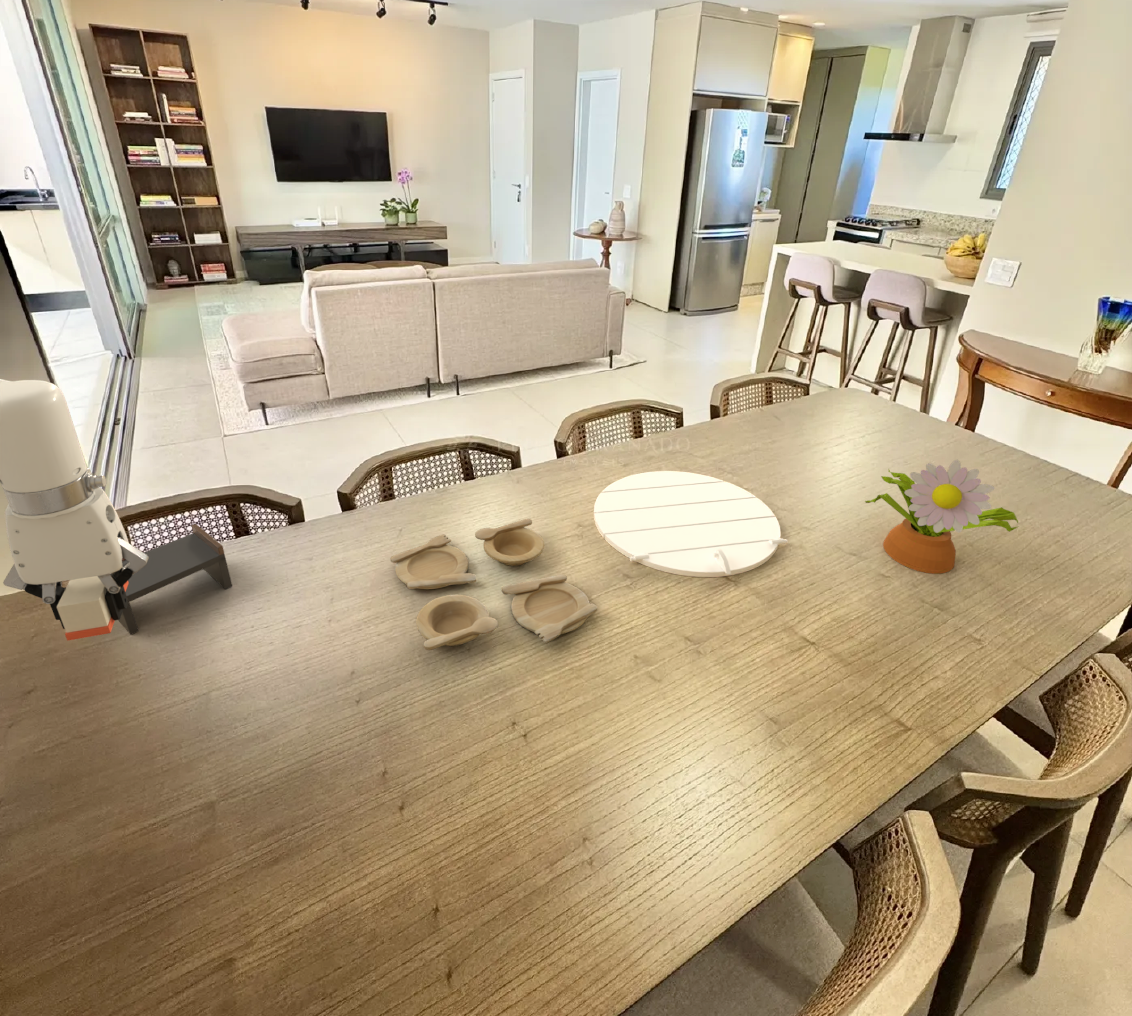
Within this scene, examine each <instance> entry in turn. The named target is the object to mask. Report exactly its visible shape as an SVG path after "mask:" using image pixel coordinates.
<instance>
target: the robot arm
mask: <svg viewBox="0 0 1132 1016" xmlns="http://www.w3.org/2000/svg"><path fill="white" fill-rule="evenodd" d="M0 485H1V489H2V490H3V493H4V495H5V498H6V500H7V503H8V504H7V505H6V507H5V510H4V519H5V520H4V521H5V528H6V537H7V541H8V542H7V543H8V546H9V551H10V554H11V558H12V560H13V564H12V566H11V568H10V570H9V571H8V573H7V575H6V577H5V578H4V579H3V582H2V583H3V586H6V587H9V588H11V589H12V588H13V589H15V590H20V591H22V590H23V591H24V592H25V593H27V594H28V595H29V594H30V595H32V596H35V597H37V598H40V599H42V602H43V603H44V604H46V605H49V606H50V609H51V612H52V614H53V616H54V619H55V620H56V621H59V622H60V625H61V627H62V630H65V628H64V625H63V623H62V620H61V617H60V615H59V612H58V609H57V605H58V603H59V601H60V599H61V597H62V595H63V593H64V591H65V589H66V587H67V586H66V587H63V582H67V581H70V580H74V579H80V578H87V577H94V576H98V578H99V579H100V580H101V582H102V583H103V585H104V586H105V587H106V589H107V592H106V595H105V599H106V602H107V605H108V608H109V611H110V614H111V617H112V619H113V620H115V621H119V620H120V618H121V615H122V612H123V609H126V608H127V606H128V599H127V596H126V593H125V589H124V586H123V585H124V584H125V583H126V582H127V581H128V580H129V579H130V578H131V577H132V575H133V574H134V573H136V572H138V571H139V570H140V569H141V568H143V567H144V566H145V565H146V564H147V561H148V558H149V557H148V556H147V555H146V554H145V552H143V551H142V550H140V549H139V548H138V547H135V546H134V545H133V544H131V543H130V542H129V539H128V536H127V533H126V530H125V528H124V525H123V523H122V521H121V519H120V516H119V514H118V512H117V510H116V509H115V507H114V505H113V503H112V501H111V499H110V498H109V496H108V495H107V493H106V491H105V490H104V489H103V488H104V487H106V486H107V478H106V476H105V475H104V474H103V475H97V474H93V473H92V472H91V469H90V467H88V466H87V463H86V460H85V456H84V452H83V450H82V446H81V444H80V440H79V438H78V435H77V431H76V428H75V425H74V422H73V419H72V416H71V412H70V409H69V405H68V403H67V400H66V397H65V395H64V393H63V391H62V390H61V388H60V387H58V386H57V385H56V384H55V383H52V382H50V381H46V380H40V379H21V380H13V381H12V380H7V379H2V378H0ZM123 559H124V560H128V561H129V563H127V564H125V565H124V566H123V567H122V562H123Z"/></svg>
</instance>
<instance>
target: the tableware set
mask: <svg viewBox="0 0 1132 1016" xmlns="http://www.w3.org/2000/svg"><path fill="white" fill-rule="evenodd" d="M532 524H533V520H532V519H531V518H524V519H521V520H518V521H515V522H512V523H508V524H504V525H503V526H500V527H495V528H494V527H483V528H480V529H478V530H476V531H475V533H474V537H475V539H477V540H481V541H483V550H484V552H485V554H486V555H487V557H489V558H490V559H493V560H494V561H495V562H499V563H501V564H503V565H506V566H510V567H516V566H517V567H518V566H522V565H524V564H526V563H527V562H530V561H533V560H535V559H537V558H538V557H540V555H541V554H542V553H543V551H544V548H545V541H544V539H543V537H542V536H541V535H540V534H539V533H538V532H537V531H535V530H533V529H530V528H527V527H529V526H531V525H532ZM451 542H452V539H450V538H449V537H448V536H446V534H444V533H442V534H440V535H437V536H434V537H432V538H430V540H429V541H428V542H427V543H425V544H423V545H419V546H417V547H414V548H412V549H411V548H410V549H408V550H405V551H402V552H398V553H396V554H394V555H391V557H389V558H390V562H391V563H393V564H395V569H394V570H395V575H396V577H397V579H398V580H400V582H401V583H403V584H405V585H406V588H407V589H408V590H415V589H417V590H418V589H420V590H434V589H435V590H436V589H442V588H445V587H449V586H451V585H463V584H474V583H476V582H477V576H476V574H474V573H472V572H468V569H469V565H470V564H469V563H470V562H469V558H468V556H467V555H466V553H465V552H464V551H462V550H461V549H460V548H458V547H456V546H453V545H450V544H449V543H451ZM467 572H468V573H467ZM567 580H568V576H567V575H566V574H557V575H552V576H547V577H542V578H537V579H532V580H527V581H522V582H518V583H512V584H506V585H502V586H500V590H501V592H502V594H504V595H514V596H513V599H512V600H511V607H510V608H511V614H512V616H513V618H514V620H515V621H516V623H518V624H519V626H521V627H522V628H524V629H526V630H527V631H529V632H532V633H534V634H535V635H536V636H538V638H539V639H542V641H543V642H544V643H545V644H547V643H549V642H551V641H553V640H555V639H556V638H559V637H560V635H563V634H566V633H570V632H572V631H575V630H576V629H578V628H579V627H581V626H582V625H583V624H585V622H586V621H587V619H588V617H590V616H591V615H593V614H595V613H596V612H597V611H598V605H596V604H595V603H590V600H589V598H588V596H587V594H586V593H585V592H583V590H582V589H580V588H578V587H577V586H575V585H573V584H570V583H567ZM498 623H499V621H498V620H497V619H496V618H494V617H492V616H490V613H489V610H488V608H487V607H486V605H485V604H484V603H483V602H482V601H480V600H478V599H477V598H475V597H472V596H469V595H464V594H449V595H448V594H447V595H443V596H439V597H436V598H434V599H432V600H430V601H429V602H428V603H426V604H425V605H424V606H422V608H421V609H420V610H419V612H418V614H417V616H416V620H415V624H416V628H417V631H418V632H419V634H420V636H422V637H423V638H424V639H425V641H424V642H423V649H425V650H426V651H432V650H435V649H438V648H440V647H443V646H447V647H456V646H461V645H463V644H465V643H469V642H471V641H473V640H475V639H476V638H478V637H480V635H482V636H483V635H488V634H491V633H493V632H495V630H497V628H498V625H499V624H498Z"/></svg>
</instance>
